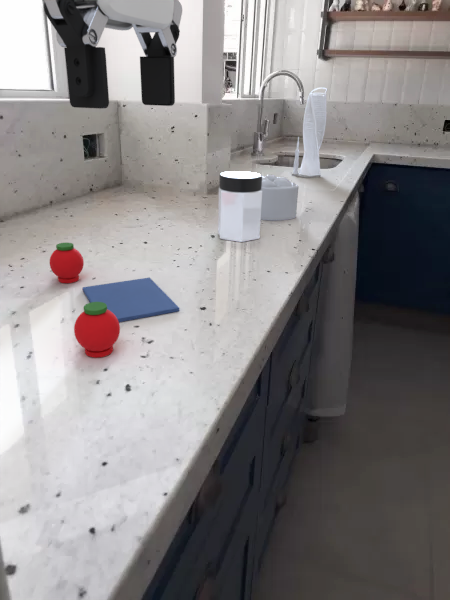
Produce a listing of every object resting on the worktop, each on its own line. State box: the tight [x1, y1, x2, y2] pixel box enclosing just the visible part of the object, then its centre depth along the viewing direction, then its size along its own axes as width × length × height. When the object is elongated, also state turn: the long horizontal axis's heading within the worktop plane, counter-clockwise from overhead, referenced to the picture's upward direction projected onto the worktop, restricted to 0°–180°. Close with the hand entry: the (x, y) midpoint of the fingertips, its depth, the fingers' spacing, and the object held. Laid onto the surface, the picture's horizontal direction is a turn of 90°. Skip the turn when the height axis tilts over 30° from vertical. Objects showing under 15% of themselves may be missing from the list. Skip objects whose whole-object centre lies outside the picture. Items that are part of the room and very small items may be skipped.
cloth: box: [82, 277, 180, 323], centre depth 66 cm, size 10×12×1 cm
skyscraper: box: [291, 86, 328, 179], centre depth 161 cm, size 8×8×28 cm
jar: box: [217, 170, 263, 243], centre depth 94 cm, size 9×8×12 cm
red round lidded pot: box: [73, 302, 121, 358], centre depth 52 cm, size 5×5×5 cm
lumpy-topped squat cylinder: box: [261, 174, 299, 221], centre depth 111 cm, size 10×13×9 cm
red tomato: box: [49, 242, 85, 284], centre depth 71 cm, size 5×5×6 cm
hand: (127, 106), depth 40 cm, fingers open, 9 cm apart
